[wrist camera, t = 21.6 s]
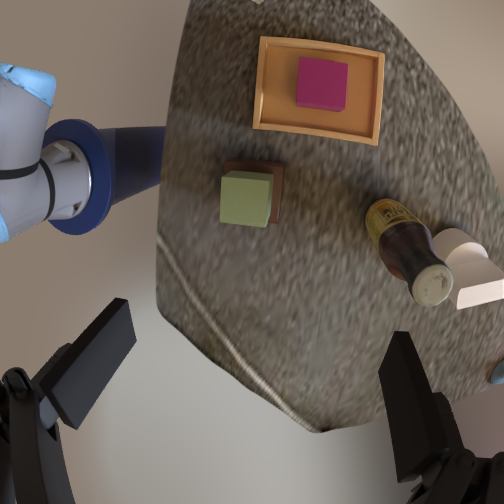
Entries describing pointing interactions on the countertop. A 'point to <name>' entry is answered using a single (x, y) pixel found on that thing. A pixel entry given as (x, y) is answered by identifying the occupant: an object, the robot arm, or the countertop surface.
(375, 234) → the sauce bottle
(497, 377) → the cocktail glass
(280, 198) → the walnut block
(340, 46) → the oak tray
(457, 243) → the base with upright slab
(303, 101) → the mulberry block
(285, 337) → the countertop surface
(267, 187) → the sage block
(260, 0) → the condiment
